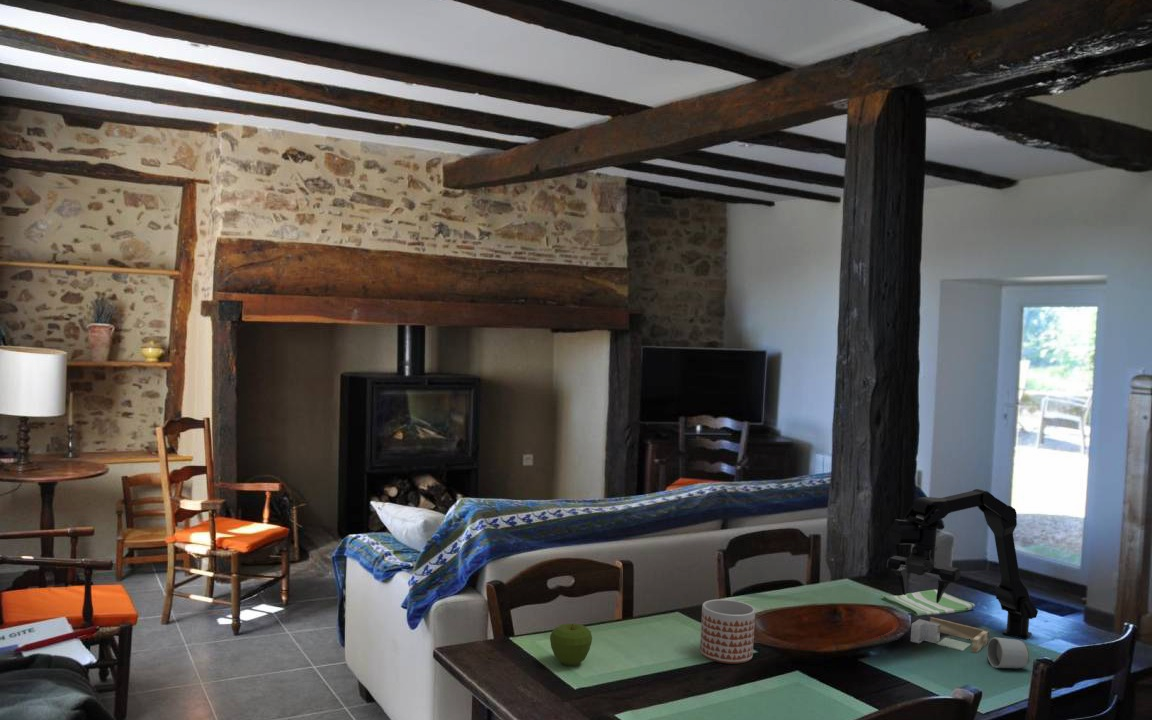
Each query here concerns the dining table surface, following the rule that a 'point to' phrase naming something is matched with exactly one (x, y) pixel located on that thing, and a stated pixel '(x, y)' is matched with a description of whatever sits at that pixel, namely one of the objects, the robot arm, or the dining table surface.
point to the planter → (727, 631)
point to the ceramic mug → (1007, 653)
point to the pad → (954, 644)
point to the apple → (571, 643)
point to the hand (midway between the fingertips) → (920, 598)
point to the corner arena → (964, 632)
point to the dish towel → (929, 603)
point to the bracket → (925, 631)
